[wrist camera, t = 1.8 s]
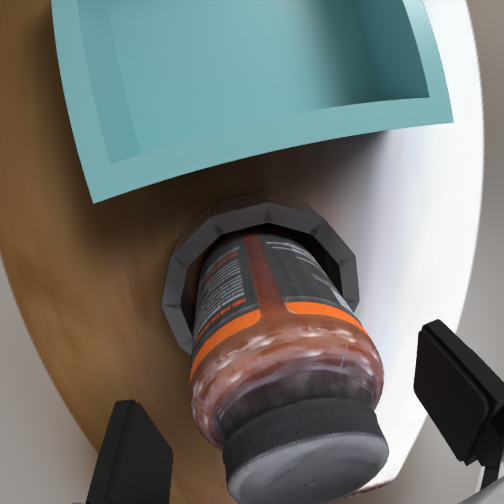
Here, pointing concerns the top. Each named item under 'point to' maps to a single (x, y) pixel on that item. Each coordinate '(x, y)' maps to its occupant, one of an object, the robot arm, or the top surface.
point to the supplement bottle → (283, 374)
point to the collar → (239, 217)
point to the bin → (236, 79)
